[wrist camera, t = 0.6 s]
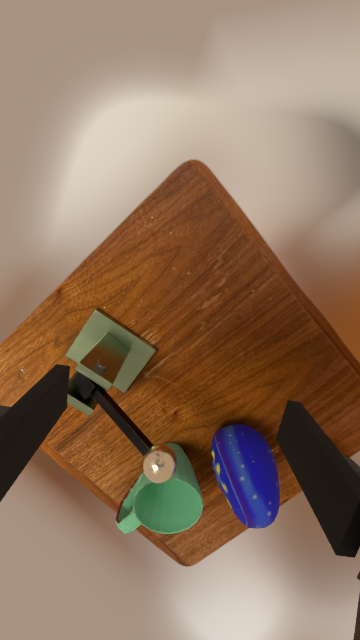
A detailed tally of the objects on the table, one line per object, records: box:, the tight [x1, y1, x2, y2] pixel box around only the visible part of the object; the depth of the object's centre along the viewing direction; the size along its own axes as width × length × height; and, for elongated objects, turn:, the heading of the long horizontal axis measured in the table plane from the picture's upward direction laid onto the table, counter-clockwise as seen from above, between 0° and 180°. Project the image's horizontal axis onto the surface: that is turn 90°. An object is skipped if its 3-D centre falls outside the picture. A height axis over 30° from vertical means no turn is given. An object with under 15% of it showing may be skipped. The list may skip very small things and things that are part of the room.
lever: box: [71, 372, 177, 483], centre depth 30 cm, size 15×4×4 cm, turn 54°
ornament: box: [211, 424, 280, 528], centre depth 39 cm, size 11×9×15 cm
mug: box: [116, 443, 203, 534], centre depth 42 cm, size 15×10×10 cm
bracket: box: [65, 308, 156, 416], centre depth 36 cm, size 11×9×13 cm
